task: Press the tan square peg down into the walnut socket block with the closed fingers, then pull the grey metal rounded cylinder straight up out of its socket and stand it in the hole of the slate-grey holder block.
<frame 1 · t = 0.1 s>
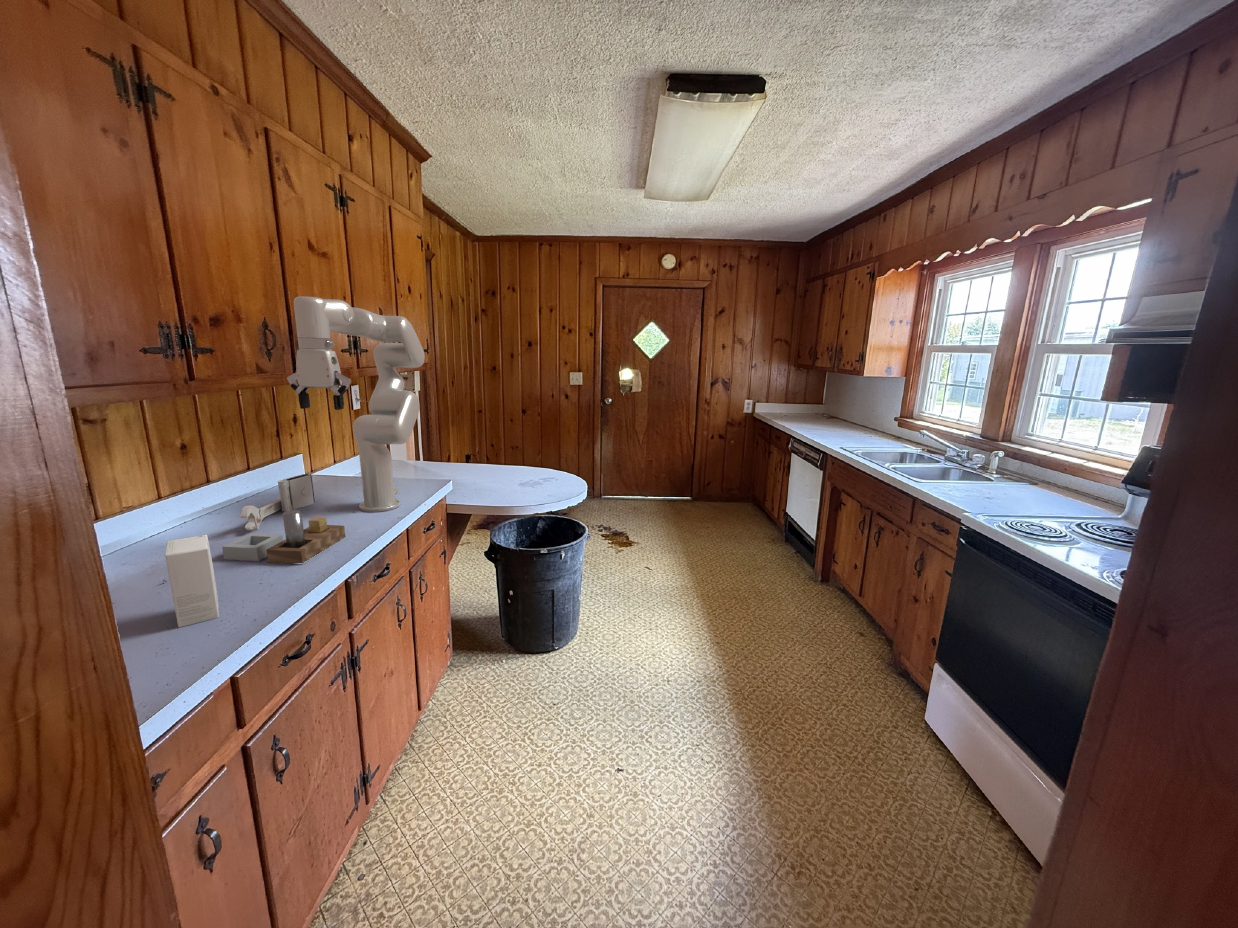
hand: (322, 408, 133), 37 cm above the counter, tool pointing down, fingers open, 9 cm apart
grey metal rounded cylinder: (297, 555, 126), resting in socket block
bit holder: (255, 552, 127), on the counter
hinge: (297, 508, 162), on the counter
socket block: (309, 548, 131), on the counter
skincare box: (200, 615, 99), on the counter
tan square peg: (318, 527, 134), point 4 cm above the counter, slide at 0.0 cm
wrench: (268, 520, 151), on the counter
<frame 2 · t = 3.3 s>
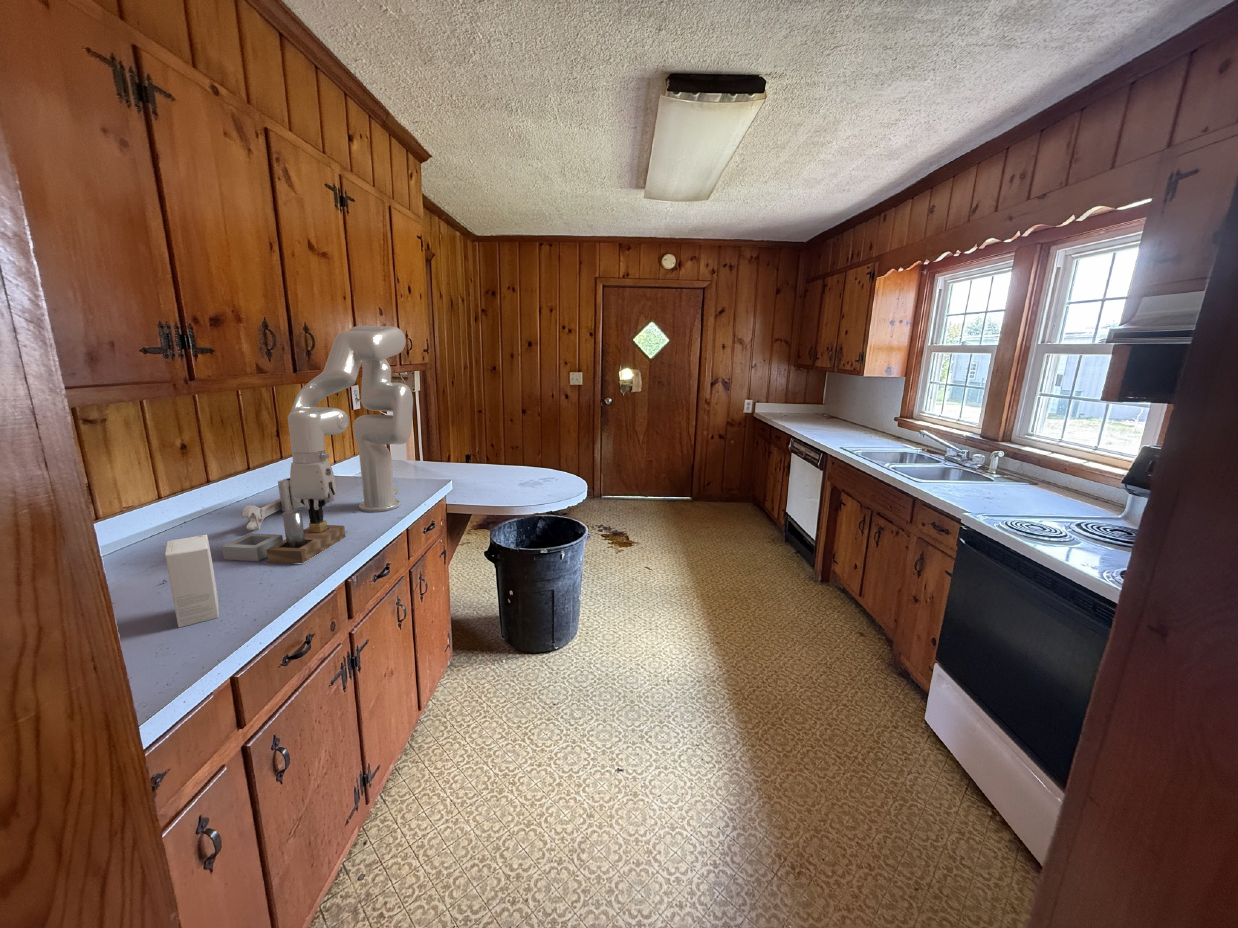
hand: (316, 521, 133), 6 cm above the counter, tool pointing down, fingers closed
tan square peg: (318, 530, 134), point 4 cm above the counter, slide at 0.9 cm, touching gripper
everything else where it was.
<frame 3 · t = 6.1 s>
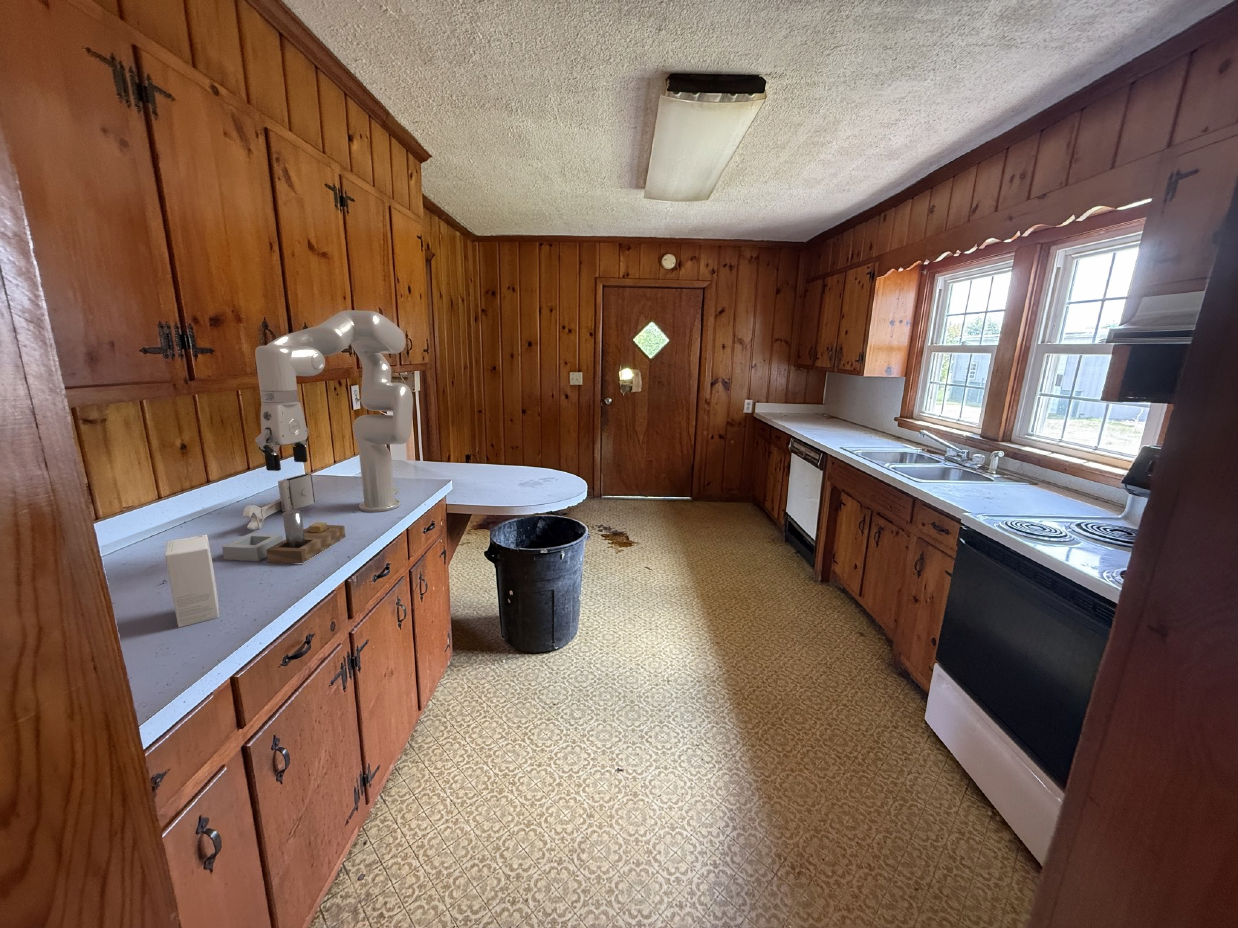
hand: (287, 466, 121), 24 cm above the counter, tool pointing down, fingers open, 9 cm apart
tan square peg: (319, 532, 134), point 3 cm above the counter, slide at 1.6 cm
everything else where it was.
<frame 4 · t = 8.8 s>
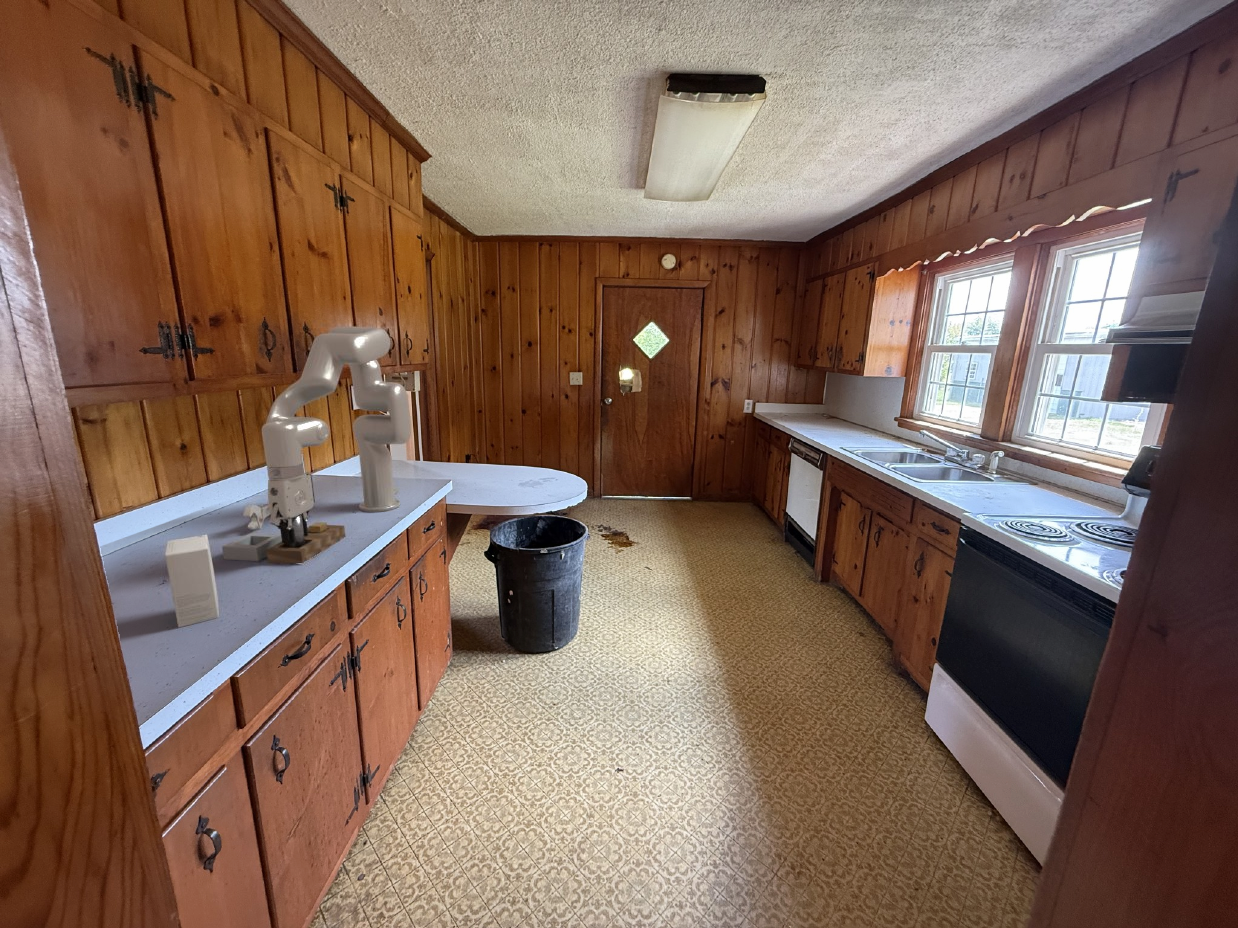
hand: (295, 538, 125), 5 cm above the counter, tool pointing down, fingers closed on grey metal rounded cylinder, 4 cm apart
grey metal rounded cylinder: (297, 555, 126), resting in socket block, touching gripper
everything else where it was.
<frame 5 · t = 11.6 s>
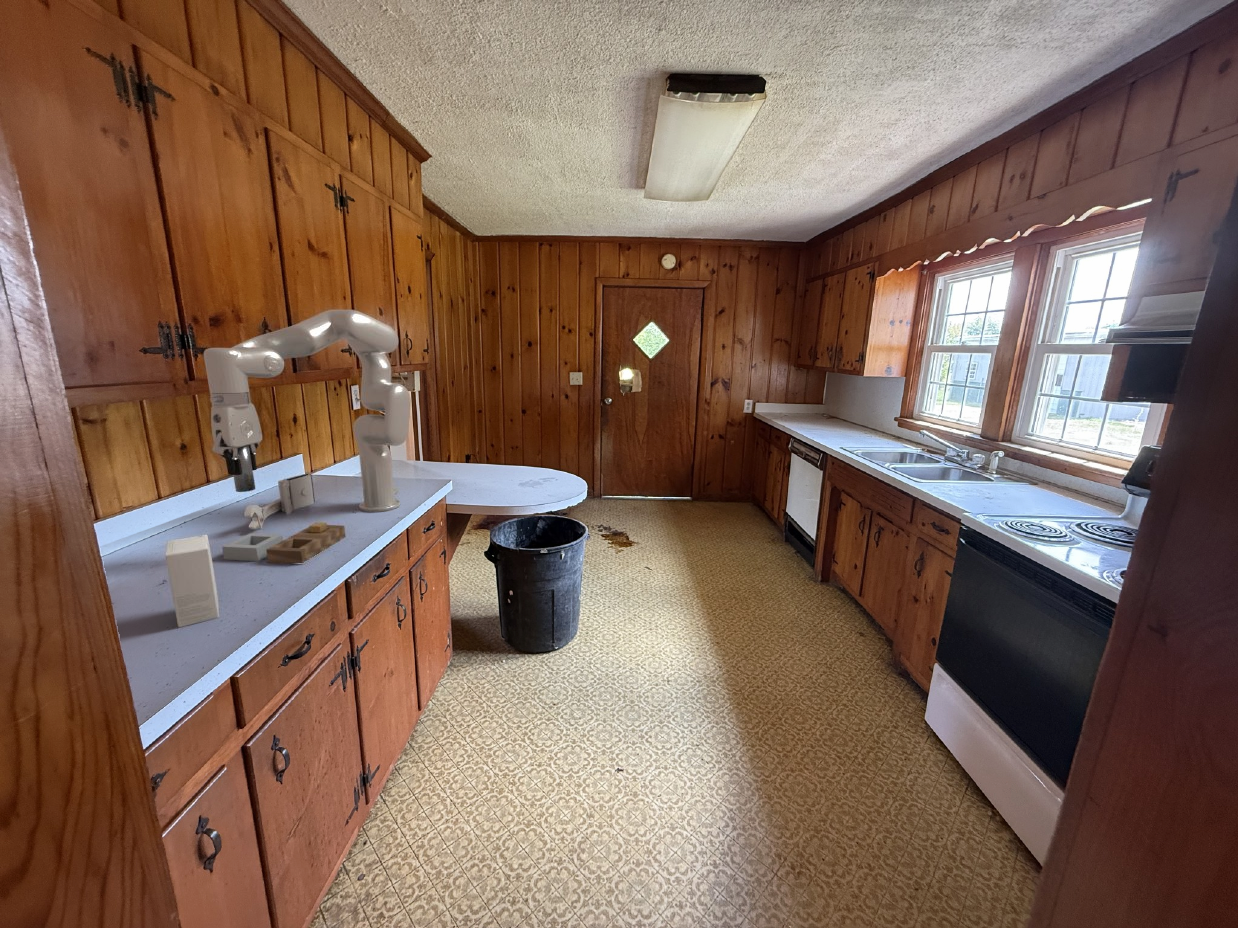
hand: (242, 471, 122), 22 cm above the counter, tool pointing down, fingers closed on grey metal rounded cylinder, 4 cm apart
grey metal rounded cylinder: (245, 489, 123), point 17 cm above the counter, touching gripper
everything else where it was.
when the fingers open (7 cm above the counter, at t = 14.8 s): grey metal rounded cylinder drops 2 cm, resting in bit holder.
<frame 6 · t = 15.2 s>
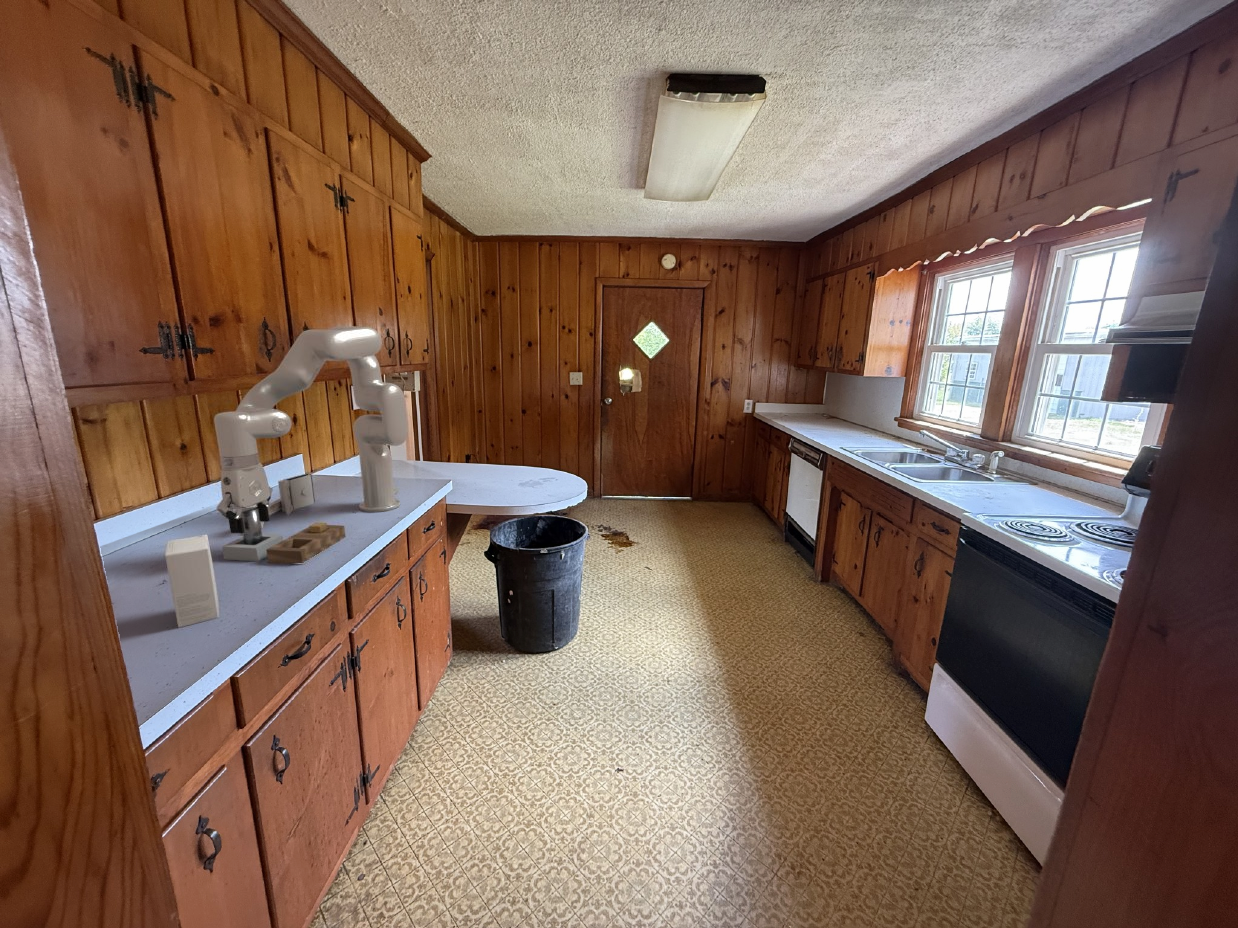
hand: (250, 526, 125), 7 cm above the counter, tool pointing down, fingers open, 7 cm apart
grey metal rounded cylinder: (255, 552, 127), resting in bit holder
everything else where it was.
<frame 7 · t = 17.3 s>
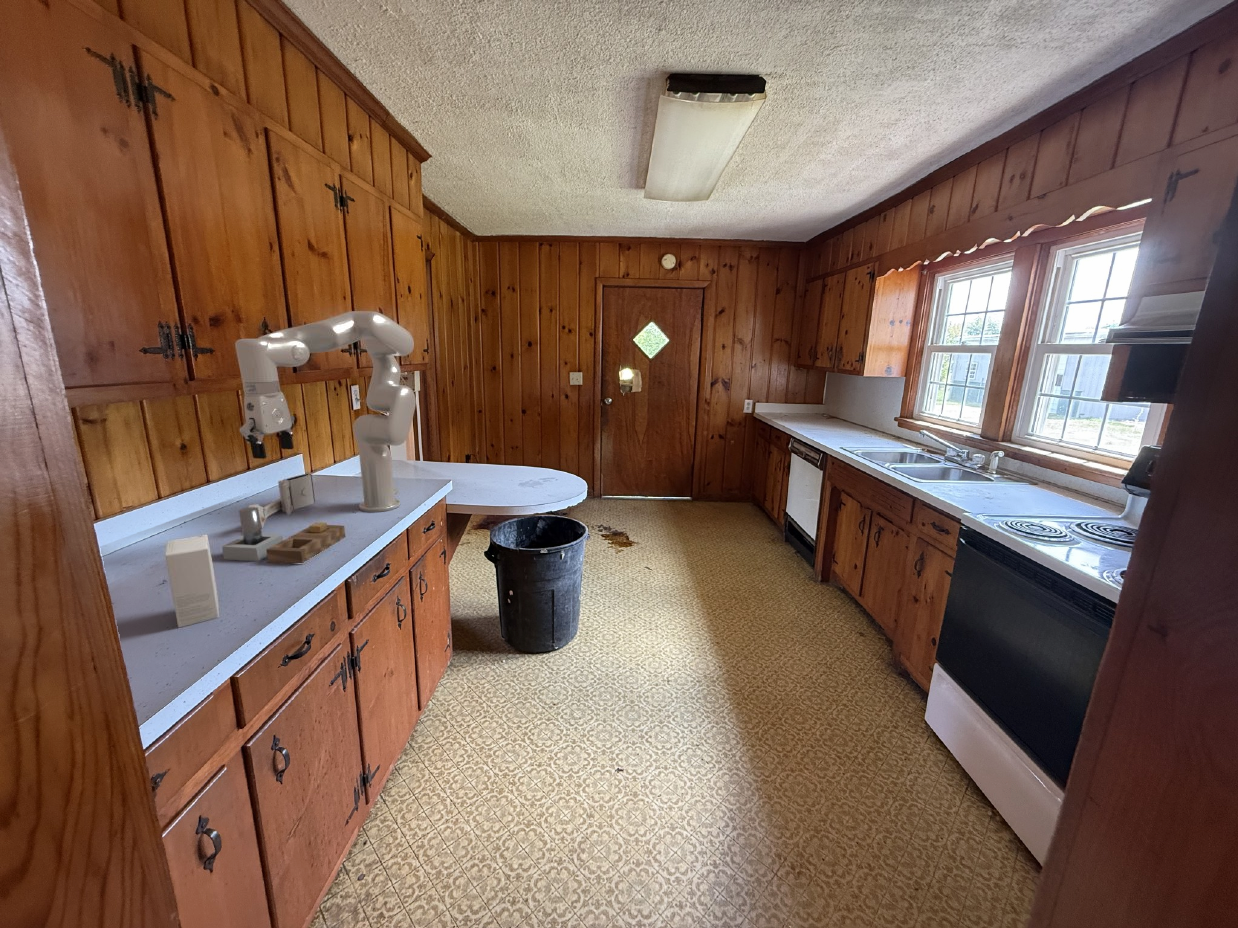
hand: (274, 453, 128), 26 cm above the counter, tool pointing down, fingers open, 9 cm apart
nothing on the counter moved.
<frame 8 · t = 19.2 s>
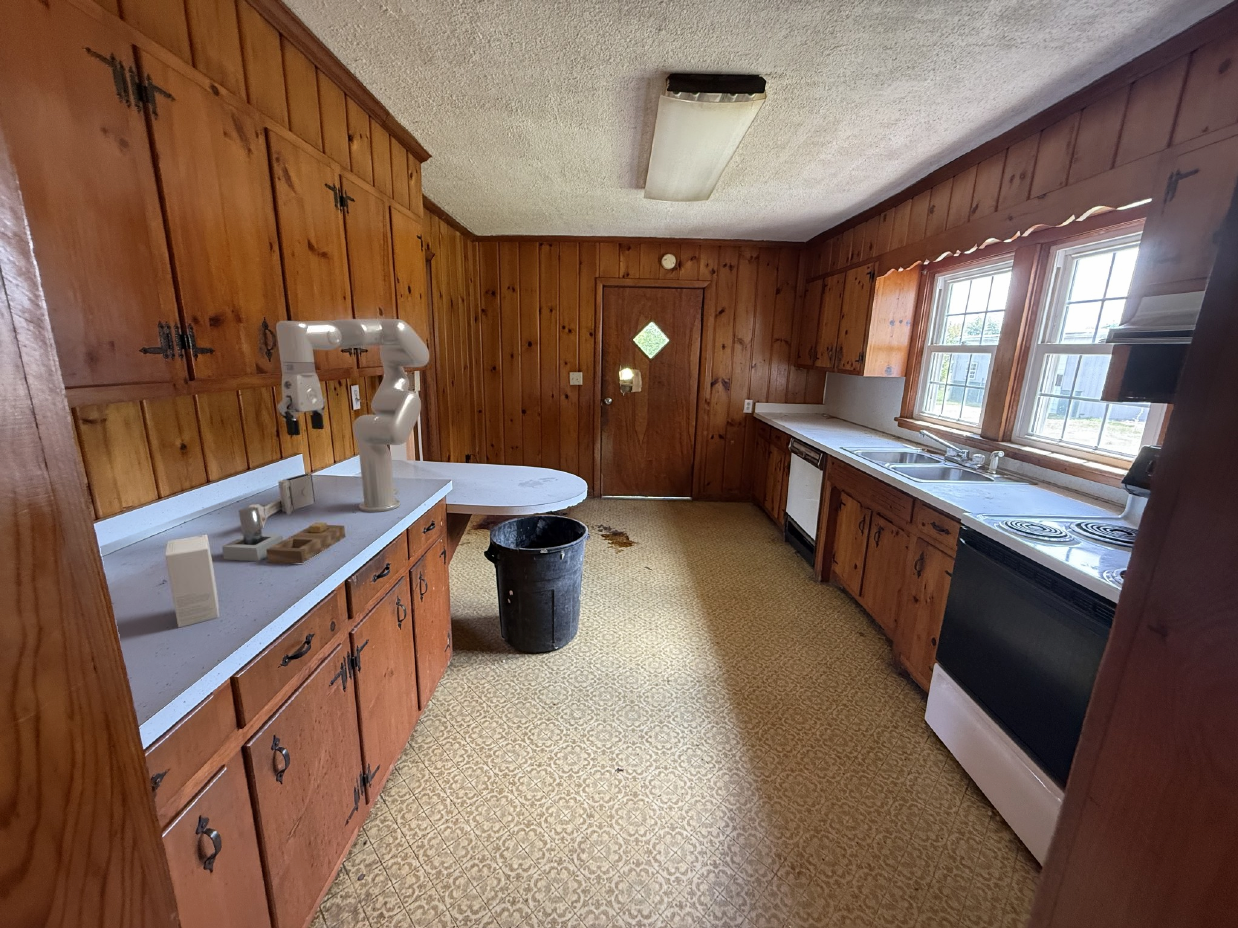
hand: (306, 431, 133), 30 cm above the counter, tool pointing down, fingers open, 9 cm apart
at the end: tan square peg slide at 1.6 cm; grey metal rounded cylinder 0.1 cm off-centre on the bit holder, point 0.0 cm above the bit holder's base; grey metal rounded cylinder tilted 0° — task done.
